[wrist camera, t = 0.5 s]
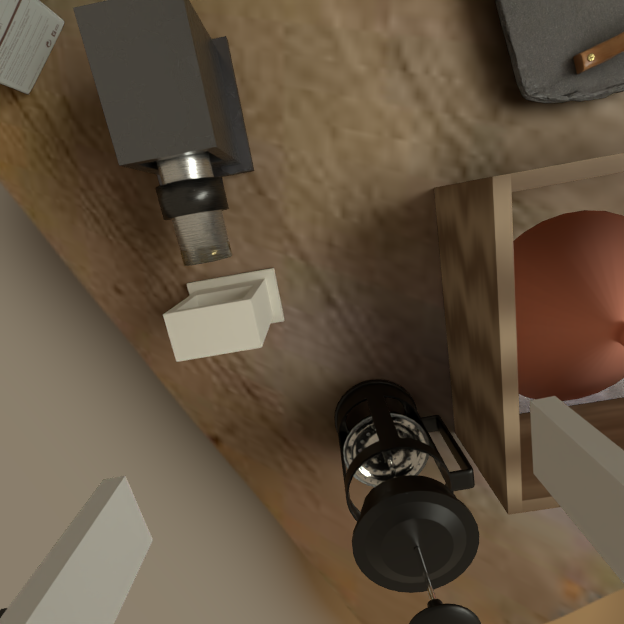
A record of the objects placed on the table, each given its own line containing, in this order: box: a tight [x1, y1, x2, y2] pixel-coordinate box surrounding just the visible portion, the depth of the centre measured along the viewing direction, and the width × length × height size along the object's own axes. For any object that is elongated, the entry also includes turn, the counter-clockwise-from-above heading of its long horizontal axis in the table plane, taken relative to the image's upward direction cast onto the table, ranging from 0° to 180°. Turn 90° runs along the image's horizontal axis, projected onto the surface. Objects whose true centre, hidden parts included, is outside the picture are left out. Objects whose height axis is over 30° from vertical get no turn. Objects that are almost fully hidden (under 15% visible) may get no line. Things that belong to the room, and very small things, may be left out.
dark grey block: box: [73, 0, 254, 185], centre depth 30 cm, size 11×9×10 cm
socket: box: [163, 268, 285, 362], centre depth 34 cm, size 6×9×10 cm, turn 100°
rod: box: [155, 151, 232, 266], centre depth 29 cm, size 16×5×5 cm, turn 10°
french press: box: [334, 380, 481, 624], centre depth 31 cm, size 12×9×23 cm
